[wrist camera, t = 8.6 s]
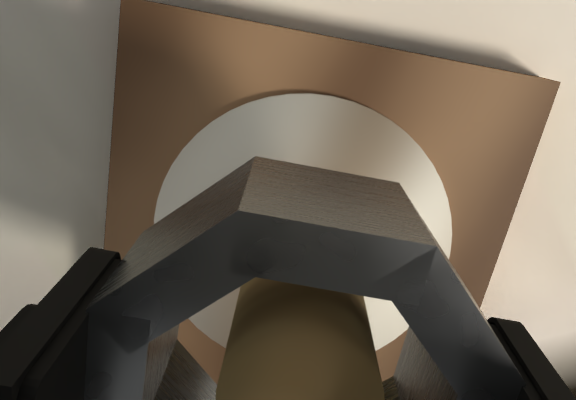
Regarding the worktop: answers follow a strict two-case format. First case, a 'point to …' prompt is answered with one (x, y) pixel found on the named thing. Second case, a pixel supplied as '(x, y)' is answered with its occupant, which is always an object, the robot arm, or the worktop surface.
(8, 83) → the worktop surface
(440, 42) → the worktop surface
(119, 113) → the post block
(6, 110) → the worktop surface
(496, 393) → the ring
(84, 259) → the robot arm
